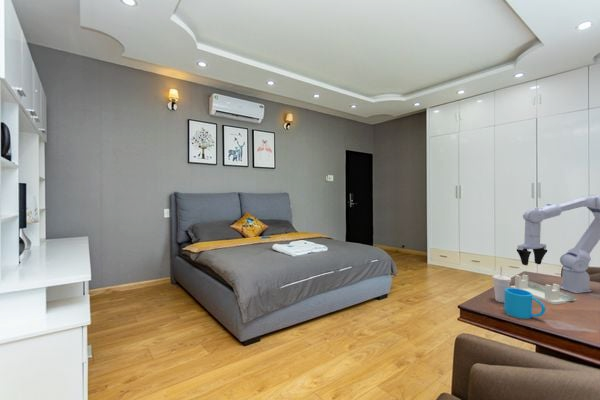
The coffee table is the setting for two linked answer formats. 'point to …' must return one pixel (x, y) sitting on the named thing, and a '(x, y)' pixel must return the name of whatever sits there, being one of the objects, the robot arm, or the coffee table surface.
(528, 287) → the mat
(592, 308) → the coffee table surface
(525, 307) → the mug
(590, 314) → the coffee table surface
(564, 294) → the rail
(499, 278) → the smoothie
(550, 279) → the coffee table surface
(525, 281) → the rack
